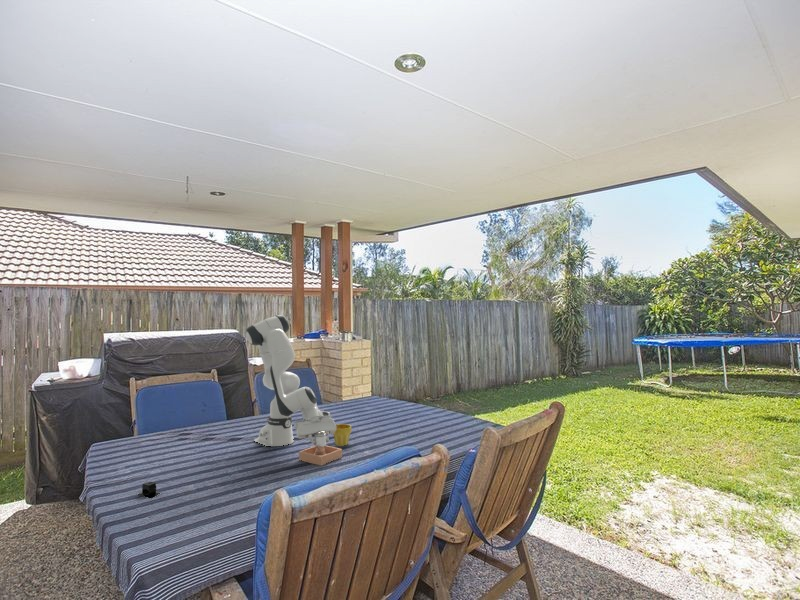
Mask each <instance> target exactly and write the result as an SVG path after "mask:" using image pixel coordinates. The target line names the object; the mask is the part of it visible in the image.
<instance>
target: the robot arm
mask: <svg viewBox="0 0 800 600" xmlns="http://www.w3.org/2000/svg"><path fill="white" fill-rule="evenodd" d="M289 329H290V324H289V320H288V319H287V318H286V316H284V315H283V314H277V315H274V316H271V317H267V318H265V319H263V320H261V321H259V322H257V323H255V324H253V325H252V324H251V325H250V326H248V327H247V328H246V330H245V337H246V339H247V341H248V342H249V343H250V344H251V345H252V346H257V348H258V351H259V354H260V357H261V360H262V363H263V368H264V375H263V376H262V383H263V386H264V387H265V388H267V389H269V390H271V391H274V398H273V399H272V400H271V401H270V404H269V407H270V408H269V409H270V410H269V414H270V415H269V417H268V418H267V419H266V421H267V423H266V425H263V427H262V428H261V429H259V432H258V437H257V438H255V439H254V440H253V442H254V441H255V443H256V442H258V443H257V444H259V443H260V444H259V445H261V444H263V445H262V446H264V445H265V446H264V447H266V446H271V447H283V445H284V446H288V444H289V445H291V444H293V443H294V440H293V439H295V437H294V433H293V428H294V429H295V433H296V437H297V439H299V440H300V439H306V438H307V441H310V442H311V445H315V443H316V440H315V438H314V437H315V435H314V434H315V433H318V431H322V432H323V431H324V432H325V433H326V434H327V435H326V443H328V442H330V438H329V437H330V434H333V433H334V432H335V431H336V428H337V427H336V425H337V424H336V422H335V420H334V419H333V418H332V417H331V412H328V411H324V410H320V408H319V407H318V403H317V396H316V394H315V391H314V390H313V389H312V388H311V387H309V386H303V387H300V384H301V380H300V377H299V376H298V375H297V374H296V373H293V372H292V371H286V370H288V369H289V368H290V367H291V366H292V364H293V363H294V361H295V359H296V352H295V348H294V347H293V345H292V342H291V341H290V338H289V337H288V335H287V334H286V333H287V332H288V331H289ZM299 387H300V388H299ZM299 411H300V412H301V416H302V419H300V420H296V421H294V422H293V417H292V416H293V414H295V413H296V412H299ZM292 423H293V425H292ZM293 426H294V427H293Z"/></svg>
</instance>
